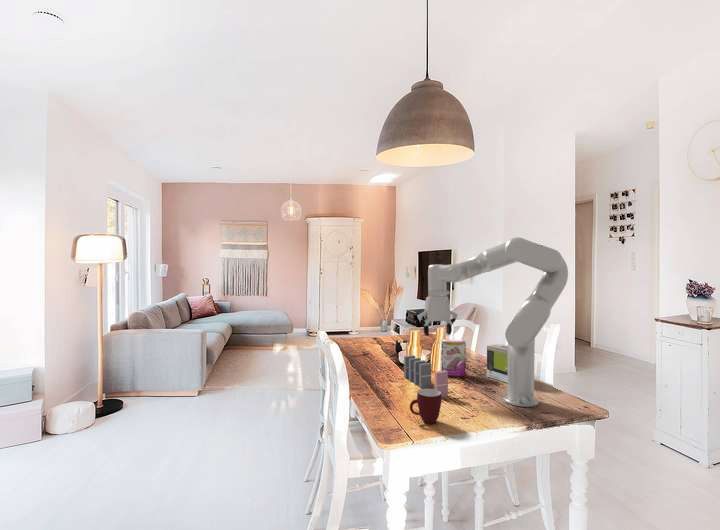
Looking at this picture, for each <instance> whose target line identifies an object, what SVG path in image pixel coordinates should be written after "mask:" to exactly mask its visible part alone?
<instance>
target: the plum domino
mask: <svg viewBox="0 0 720 530" xmlns="http://www.w3.org/2000/svg"><path fill="white" fill-rule="evenodd" d="M434 389H435V390H438V391H440V392H441V397H442V398H448V397H449V376H448V372H447V371H441V370H439V371H434ZM447 396H448V397H447Z"/></svg>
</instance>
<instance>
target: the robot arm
mask: <svg viewBox="0 0 720 530" xmlns="http://www.w3.org/2000/svg"><path fill="white" fill-rule="evenodd" d="M517 262H518V263H521V264H523V265H525V266H528V267H531V268H534V269H537V270H539V271H541V272H542V275H541V278H540V280H539V281H538V282H537V284H536V286H535V288H534V289H533V290H532V292H531V293H530V295H529V296H528V298H526V300H525V301H524V302H523V303H522V305H521V307H520V308H519V309H518V311H517V312H516V314H515V316H513V318H512V320H511V322H510V323H509V325H508V326H507V328H506V330H505V333H504V334H505V335H504V336H505V339H506V342H507V345H508V383H507V393H505V394H504V395H503V397H502V398H503V399H502V400H503V401H504V402H505V403H507V404H509V405H513V406H517V407H521V408H523V407H525V408H530V407H536V406H538V405H539V403H540V402H539V401H540V400H539V399H538V398H537V397H536V396H535V353H536V352H535V347H536V346H535V345H536V343H535V342H536V337H537V336H538V335H539V333H540V332H541V330H543V329H542V328H543V327H544V325H545V324H546V322H547V321H548V319H549V318H550V315H551V312H552V311H551V310H552V308H553V306H554V305H555V304H556V302H557V300H558V299H559V298H560V295H561V294H562V292H563V291H564V289H565V287H566V285H567V282H568V279H569V269H568V265H567V262H566V261H565V258H564V257H563V255H562V254H561V253H560V252H559V250H557V249H555V248H552V247H548V246H546V245H543V244H539V243H536V242H533V241H531V240H528V239H526V238H523V237H520V236H519V237H518V236H517V237H513V238H511V239H509V240H508V241H506V242H504V243H500V244H498V245H496V246H494V247H491V248H488V249H485V250H482V251H481V252H480V253H479V254H478V255H475V256H474V257H471V258H469V259H467V260H463V261H462V262H458V263H451V264H441V263H440V264H430V265H428V269H427V279H428V280H427V282H428V283H427V285H428V286H427V287H428V290H427V293H428V295H427V296H426V298H425V303H424V311H422V312H420V313H419V314H417V315H416V316H417V317H416V318H418V320H419V322H420V324H421V325H423V334H424V335H425V336H427V337H428V336H429V335H430V332H429V327H430V326H429V324H430V322H446V329H445V330H446V332H445V333H446V334H447V335H449V336H451V334H452V331H453V330H452V327H453V325H454V323H455V322H456V320H457V317H458V316H459V315H458V313H456V312H453V311H451V308H450V301H449V300H450V299H449V297H448V295H449V294H451V292H450V290H448V289H447V283H458V282H462V281H464V280H468V279H470V278H474V277H477V276H478V275H481V274H484V273H490V272H492V271H495V270H499V269H501V268H503V267H506V266H509V265H511V264H515V263H517ZM451 316H452V317H451ZM423 317H424V319H425V320H424V319H423Z"/></svg>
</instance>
